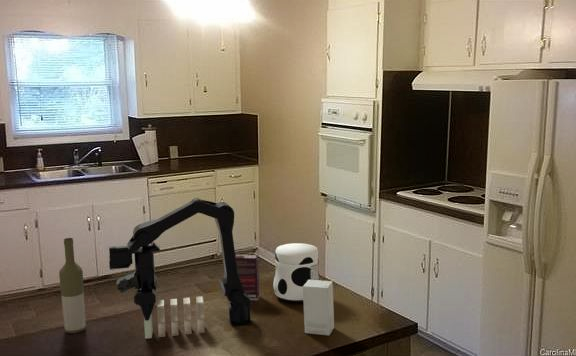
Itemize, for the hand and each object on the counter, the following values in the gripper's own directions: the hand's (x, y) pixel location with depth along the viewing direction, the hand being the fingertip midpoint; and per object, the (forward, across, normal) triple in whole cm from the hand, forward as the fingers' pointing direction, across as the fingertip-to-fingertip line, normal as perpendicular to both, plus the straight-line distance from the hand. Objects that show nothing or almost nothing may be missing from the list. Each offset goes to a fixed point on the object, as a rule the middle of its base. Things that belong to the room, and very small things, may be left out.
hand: (147, 314), depth 173 cm
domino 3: (+7, 0, +8) cm, 11 cm away
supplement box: (+7, -23, +34) cm, 42 cm away
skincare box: (+7, +10, +52) cm, 53 cm away
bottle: (+7, -9, -23) cm, 26 cm away
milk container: (+7, -20, +52) cm, 56 cm away
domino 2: (+7, 0, +4) cm, 8 cm away
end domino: (+7, 0, +16) cm, 17 cm away
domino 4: (+7, 0, +12) cm, 14 cm away
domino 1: (+7, 0, 0) cm, 7 cm away
